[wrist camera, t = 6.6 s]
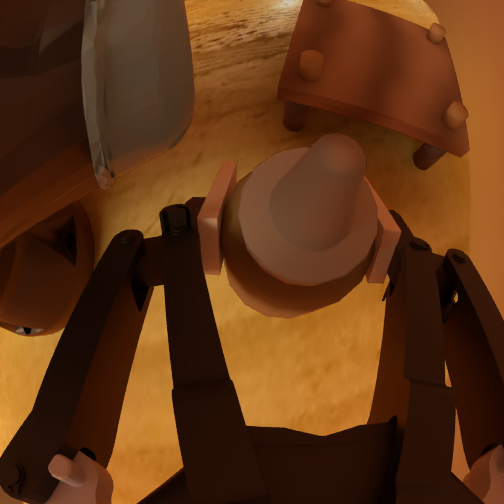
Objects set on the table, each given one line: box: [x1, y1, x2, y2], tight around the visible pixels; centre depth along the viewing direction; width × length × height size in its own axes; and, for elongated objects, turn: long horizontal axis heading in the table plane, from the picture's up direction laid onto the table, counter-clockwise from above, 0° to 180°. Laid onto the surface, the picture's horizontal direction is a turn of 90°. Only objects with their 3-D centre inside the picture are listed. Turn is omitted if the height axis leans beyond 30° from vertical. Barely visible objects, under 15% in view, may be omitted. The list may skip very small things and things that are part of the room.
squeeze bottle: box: [220, 133, 378, 319], centre depth 14 cm, size 8×8×18 cm
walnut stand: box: [277, 0, 469, 170], centre depth 22 cm, size 16×16×8 cm
